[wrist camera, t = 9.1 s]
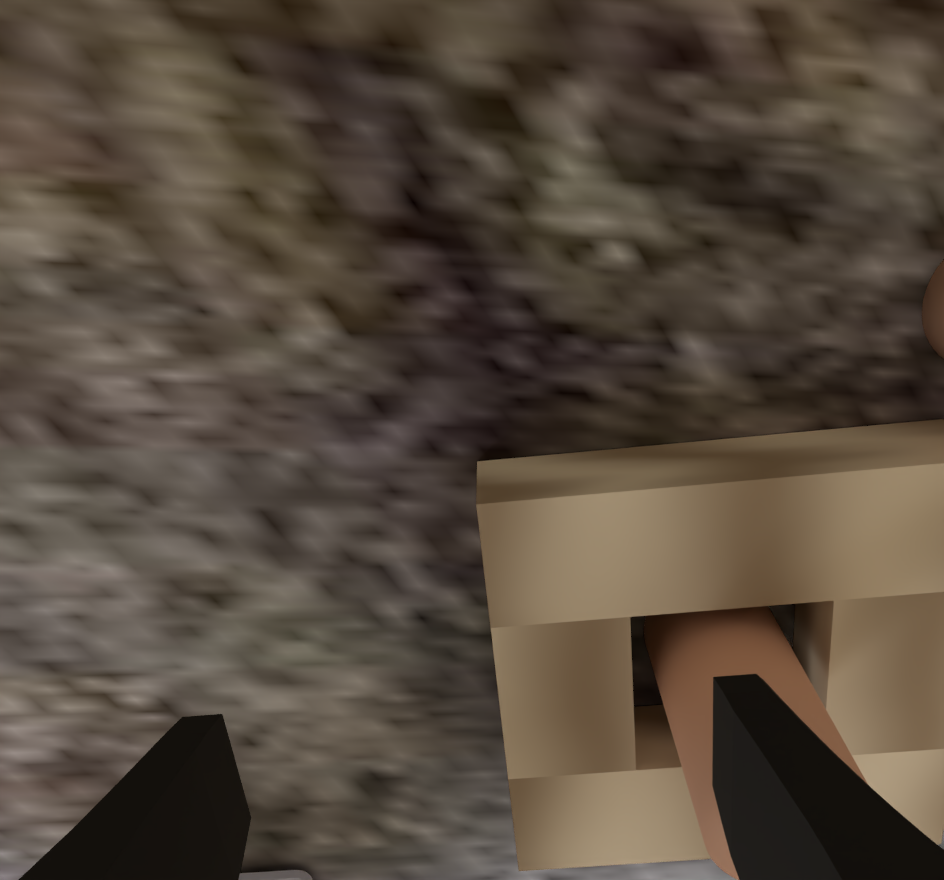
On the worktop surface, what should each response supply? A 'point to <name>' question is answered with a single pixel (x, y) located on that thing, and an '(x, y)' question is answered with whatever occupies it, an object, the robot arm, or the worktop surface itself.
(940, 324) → the short stub
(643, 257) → the worktop surface
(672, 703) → the long pin
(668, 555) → the collar block
